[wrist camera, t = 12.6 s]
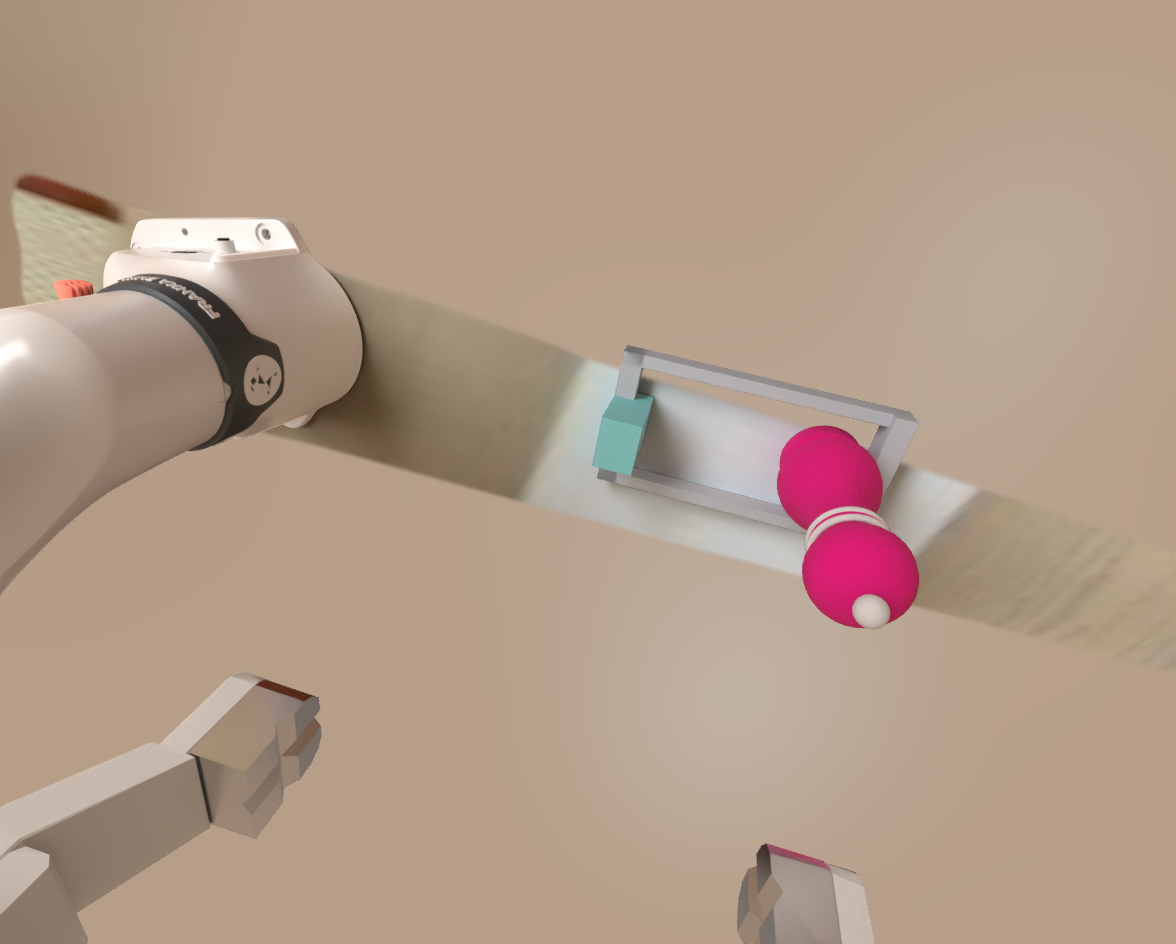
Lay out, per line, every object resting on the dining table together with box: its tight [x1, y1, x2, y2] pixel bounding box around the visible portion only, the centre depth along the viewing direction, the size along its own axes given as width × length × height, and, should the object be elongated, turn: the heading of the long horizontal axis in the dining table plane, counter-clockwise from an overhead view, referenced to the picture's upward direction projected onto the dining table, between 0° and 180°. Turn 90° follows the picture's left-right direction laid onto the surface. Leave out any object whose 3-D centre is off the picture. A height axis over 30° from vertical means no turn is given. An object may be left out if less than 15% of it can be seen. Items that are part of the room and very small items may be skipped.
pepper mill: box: [777, 426, 919, 629], centre depth 38 cm, size 7×7×20 cm
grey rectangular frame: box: [592, 345, 919, 533], centre depth 44 cm, size 22×11×7 cm, turn 80°
